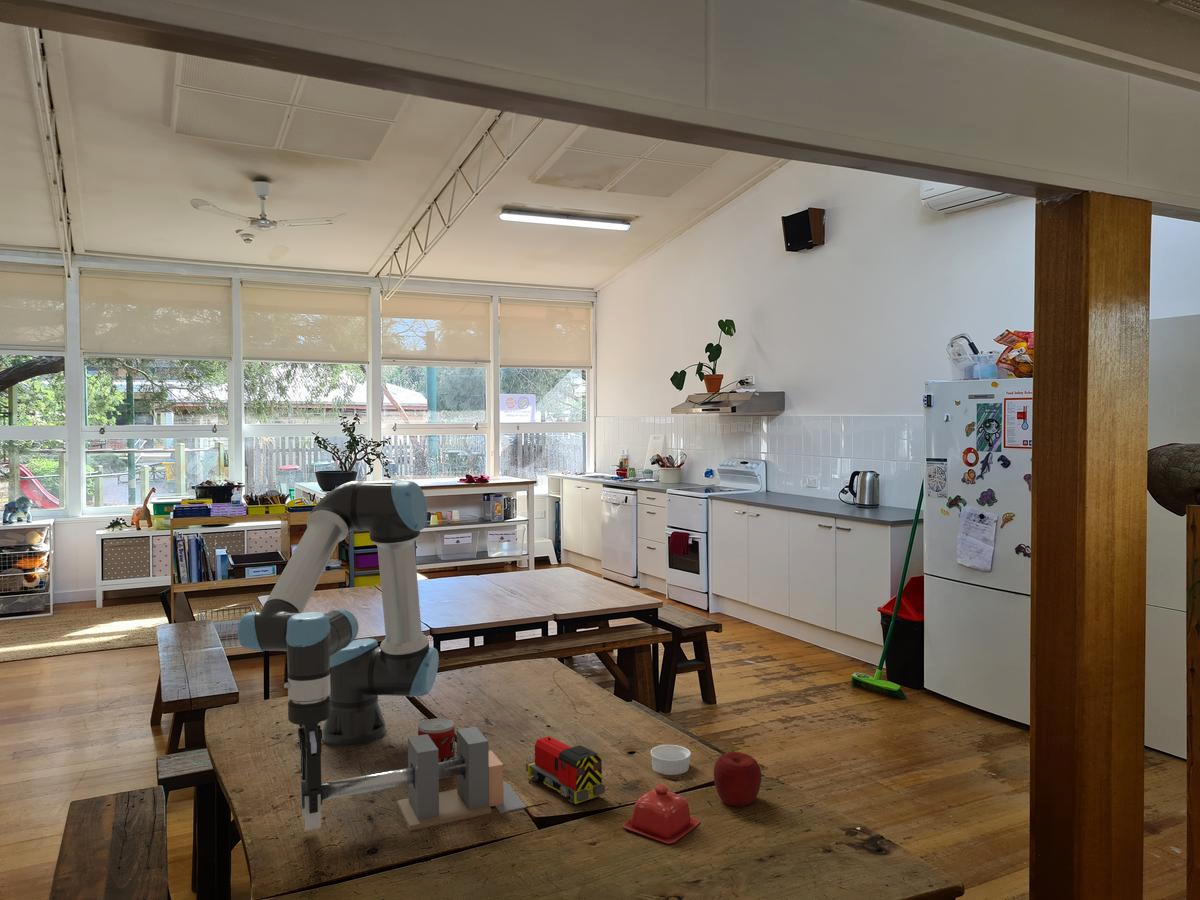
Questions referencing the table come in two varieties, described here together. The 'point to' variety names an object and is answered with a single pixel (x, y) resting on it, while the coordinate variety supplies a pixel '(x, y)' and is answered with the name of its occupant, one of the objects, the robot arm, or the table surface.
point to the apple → (737, 778)
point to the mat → (510, 800)
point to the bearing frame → (424, 794)
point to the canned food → (440, 736)
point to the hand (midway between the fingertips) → (311, 821)
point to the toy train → (567, 769)
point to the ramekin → (670, 759)
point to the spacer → (495, 781)
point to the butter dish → (661, 816)
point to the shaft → (380, 781)
